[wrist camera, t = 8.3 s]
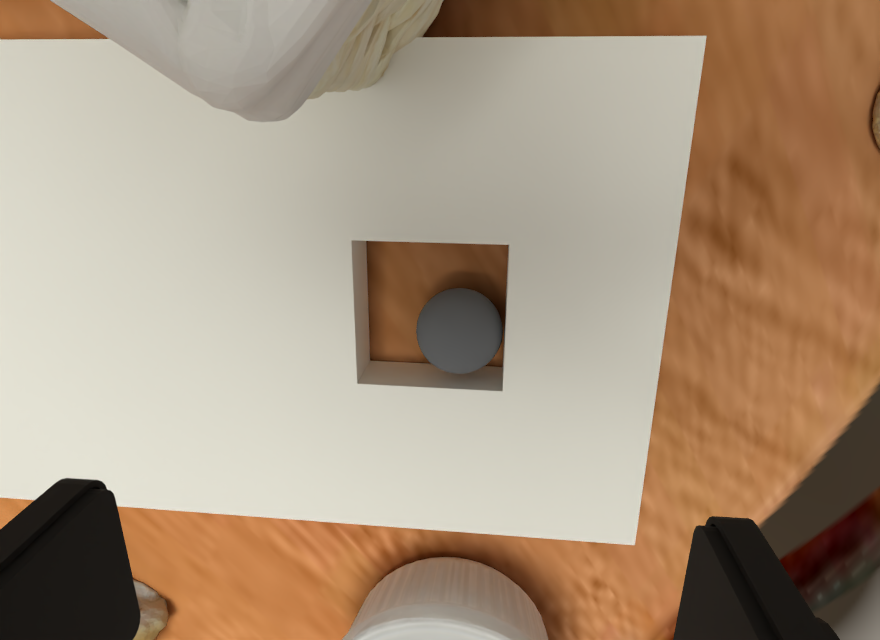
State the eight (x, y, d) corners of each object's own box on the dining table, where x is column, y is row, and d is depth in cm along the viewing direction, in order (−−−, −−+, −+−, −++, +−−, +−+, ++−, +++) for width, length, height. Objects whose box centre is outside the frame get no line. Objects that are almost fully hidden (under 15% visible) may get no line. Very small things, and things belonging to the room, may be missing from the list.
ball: (446, 318, 21) (522, 296, 22) (399, 286, 23) (471, 269, 25) (446, 400, 22) (518, 374, 24) (402, 361, 25) (469, 340, 27)
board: (0, 465, 31) (-42, 493, 28) (-113, 48, 24) (-180, 40, 22) (623, 509, 28) (634, 545, 25) (683, 45, 21) (706, 35, 19)
